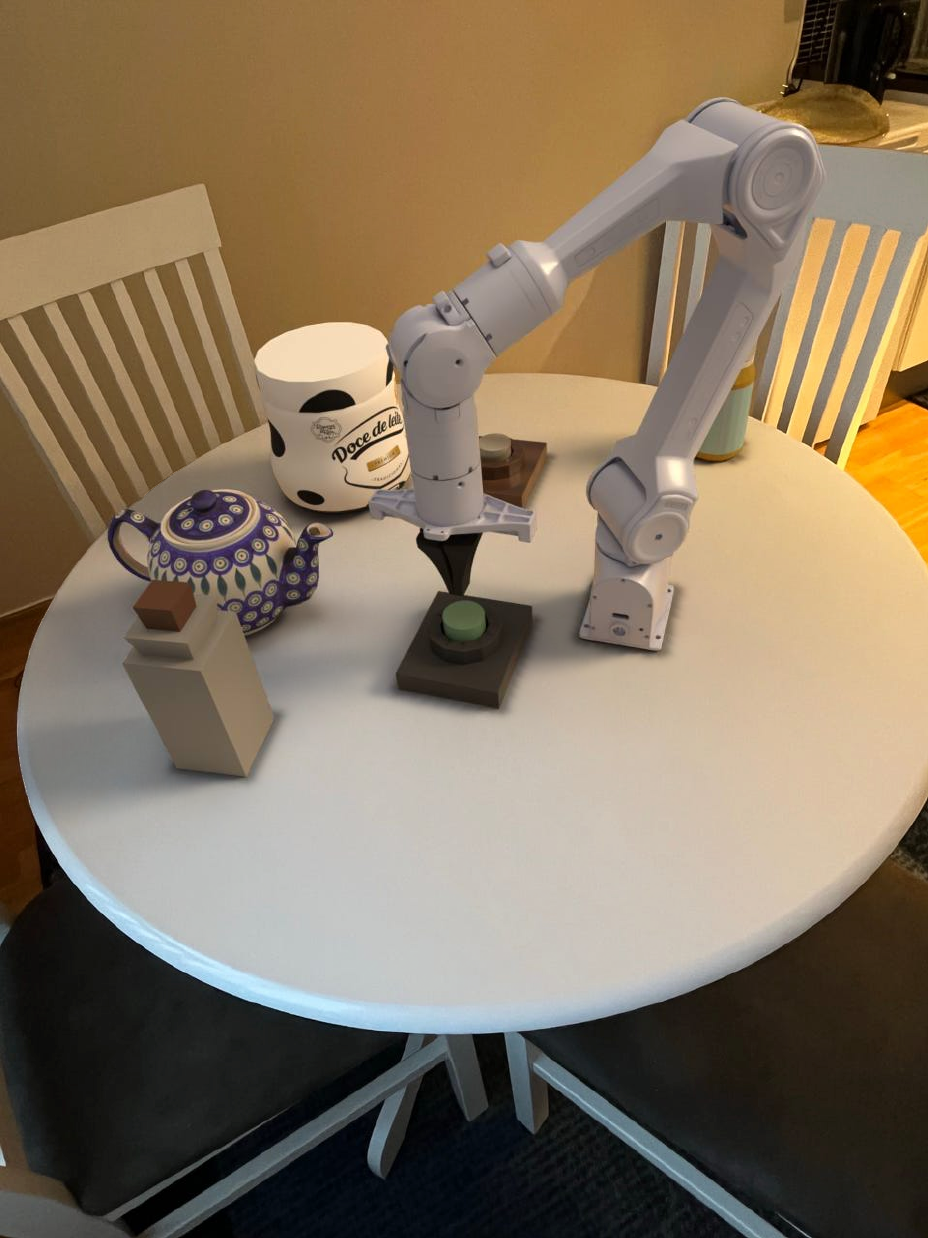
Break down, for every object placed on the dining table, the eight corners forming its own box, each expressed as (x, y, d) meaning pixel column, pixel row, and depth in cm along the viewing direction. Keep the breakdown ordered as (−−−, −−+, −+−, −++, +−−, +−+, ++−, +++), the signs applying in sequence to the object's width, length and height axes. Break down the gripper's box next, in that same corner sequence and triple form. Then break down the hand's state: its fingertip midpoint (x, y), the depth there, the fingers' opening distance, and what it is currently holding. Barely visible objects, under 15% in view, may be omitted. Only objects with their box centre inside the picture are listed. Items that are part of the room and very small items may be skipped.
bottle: (748, 461, 102) (768, 344, 92) (690, 464, 102) (704, 349, 92) (735, 432, 107) (753, 318, 97) (680, 435, 108) (693, 322, 97)
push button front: (499, 708, 76) (496, 679, 73) (398, 689, 79) (392, 659, 76) (532, 621, 84) (531, 591, 82) (440, 606, 87) (436, 577, 84)
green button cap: (478, 645, 77) (477, 632, 76) (438, 638, 78) (436, 625, 77) (491, 617, 80) (489, 603, 79) (451, 610, 81) (450, 597, 80)
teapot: (103, 641, 87) (44, 528, 77) (173, 553, 98) (128, 443, 88) (324, 671, 81) (290, 552, 71) (373, 573, 92) (349, 458, 82)
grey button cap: (506, 464, 99) (505, 452, 98) (474, 461, 100) (473, 448, 99) (515, 447, 102) (514, 434, 101) (484, 444, 103) (483, 431, 102)
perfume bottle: (246, 777, 73) (182, 628, 61) (176, 768, 74) (100, 621, 62) (274, 718, 78) (220, 569, 65) (208, 710, 79) (143, 563, 67)
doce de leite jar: (404, 526, 98) (382, 385, 86) (264, 526, 100) (222, 388, 88) (426, 448, 110) (409, 315, 98) (300, 449, 113) (268, 319, 101)
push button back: (522, 511, 98) (521, 483, 95) (442, 501, 101) (439, 473, 98) (547, 457, 106) (546, 429, 104) (472, 449, 109) (470, 422, 106)
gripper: (343, 477, 67) (370, 603, 76) (517, 500, 62) (522, 631, 71) (378, 432, 71) (399, 555, 80) (542, 451, 67) (544, 579, 76)
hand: (459, 588), depth 76 cm, fingers closed
